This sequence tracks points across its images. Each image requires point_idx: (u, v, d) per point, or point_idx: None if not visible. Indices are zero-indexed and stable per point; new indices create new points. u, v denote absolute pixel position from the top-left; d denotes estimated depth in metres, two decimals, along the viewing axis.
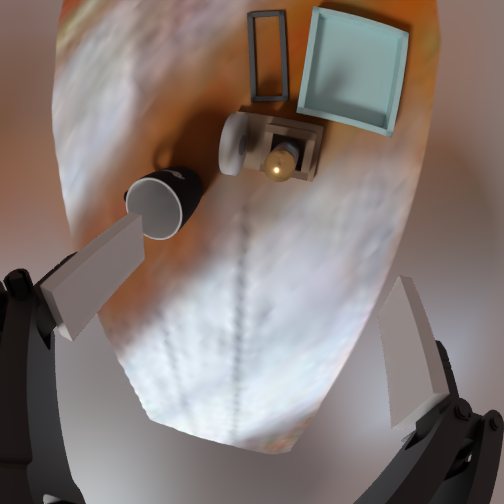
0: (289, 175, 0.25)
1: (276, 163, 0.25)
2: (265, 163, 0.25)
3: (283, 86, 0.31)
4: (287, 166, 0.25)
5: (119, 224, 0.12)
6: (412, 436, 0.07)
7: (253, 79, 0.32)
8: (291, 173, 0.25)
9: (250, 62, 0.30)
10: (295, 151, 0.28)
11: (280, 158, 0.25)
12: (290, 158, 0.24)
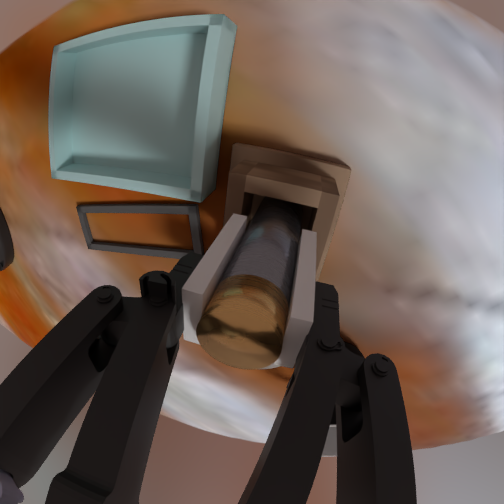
0: (261, 326, 0.08)
1: (229, 346, 0.09)
2: (232, 363, 0.10)
3: (173, 212, 0.22)
4: (234, 327, 0.09)
5: (232, 225, 0.13)
6: (290, 380, 0.09)
7: (169, 253, 0.24)
8: (254, 321, 0.08)
9: (146, 254, 0.24)
10: (244, 244, 0.12)
11: (214, 337, 0.09)
12: (209, 317, 0.09)
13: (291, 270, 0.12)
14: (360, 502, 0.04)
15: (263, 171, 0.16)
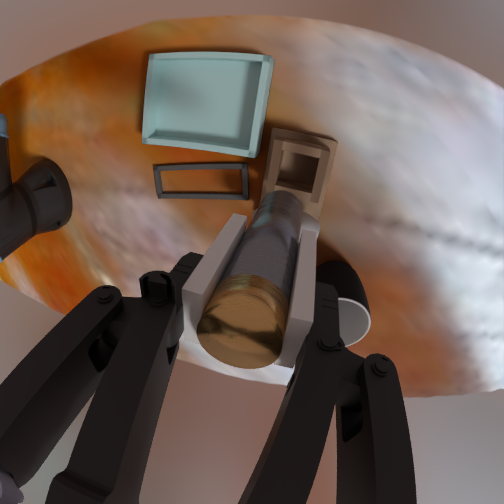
0: (261, 325, 0.08)
1: (229, 345, 0.09)
2: (232, 363, 0.10)
3: (231, 167, 0.35)
4: (234, 326, 0.09)
5: (232, 225, 0.13)
6: (290, 380, 0.09)
7: (224, 196, 0.37)
8: (254, 320, 0.08)
9: (207, 197, 0.38)
10: (244, 244, 0.12)
11: (214, 336, 0.09)
12: (210, 316, 0.09)
13: (291, 270, 0.12)
14: (360, 502, 0.04)
15: (290, 141, 0.29)
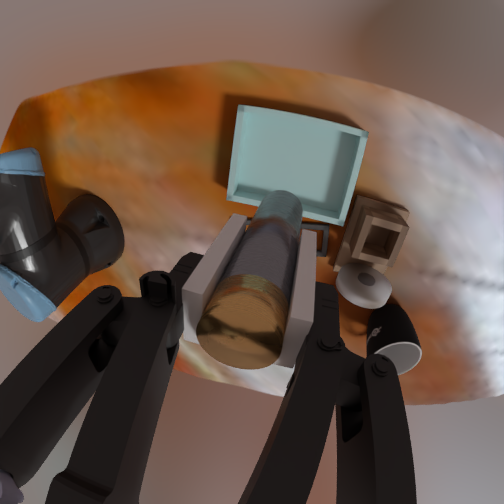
0: (261, 326, 0.08)
1: (229, 346, 0.09)
2: (232, 363, 0.10)
3: (314, 228, 0.38)
4: (234, 327, 0.09)
5: (232, 225, 0.13)
6: (290, 380, 0.09)
7: None
8: (254, 321, 0.08)
9: None
10: (244, 244, 0.12)
11: (214, 337, 0.09)
12: (209, 317, 0.09)
13: (291, 270, 0.12)
14: (360, 502, 0.04)
15: (376, 214, 0.32)
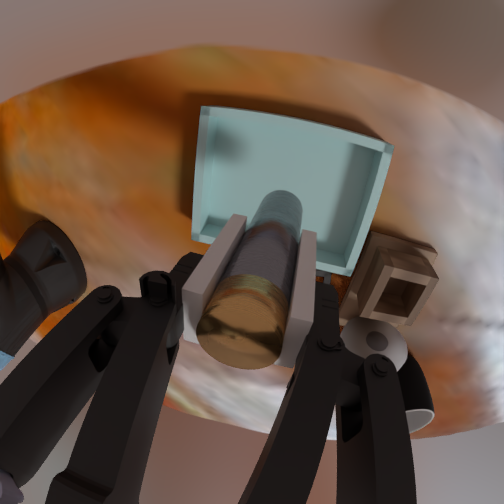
0: (261, 326, 0.08)
1: (229, 346, 0.09)
2: (232, 363, 0.10)
3: None
4: (234, 327, 0.09)
5: (232, 225, 0.13)
6: (290, 380, 0.09)
7: None
8: (254, 321, 0.08)
9: None
10: (244, 244, 0.12)
11: (214, 337, 0.09)
12: (209, 317, 0.09)
13: (291, 270, 0.12)
14: (360, 502, 0.04)
15: (397, 260, 0.23)
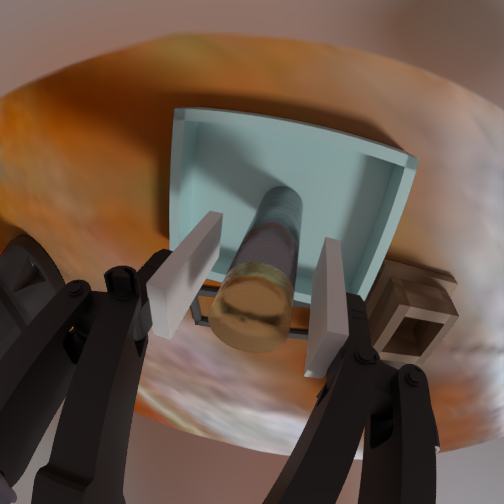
0: (271, 308, 0.09)
1: (239, 329, 0.10)
2: (242, 347, 0.10)
3: None
4: (245, 310, 0.09)
5: (206, 222, 0.13)
6: (322, 390, 0.09)
7: (296, 335, 0.26)
8: (264, 303, 0.09)
9: None
10: (250, 235, 0.13)
11: (225, 320, 0.10)
12: (222, 301, 0.09)
13: (295, 259, 0.12)
14: None
15: (413, 296, 0.18)
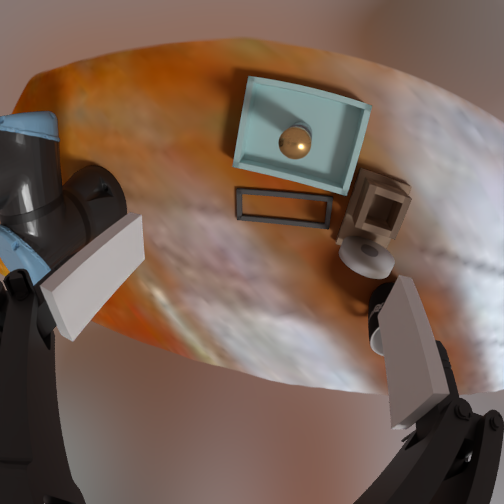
0: (304, 133, 0.23)
1: (291, 145, 0.24)
2: (291, 156, 0.24)
3: (318, 199, 0.38)
4: (294, 135, 0.23)
5: (119, 224, 0.12)
6: (412, 436, 0.07)
7: (307, 224, 0.40)
8: (302, 131, 0.23)
9: (290, 224, 0.41)
10: None
11: (285, 141, 0.23)
12: (285, 131, 0.23)
13: (310, 135, 0.26)
14: None
15: (379, 185, 0.32)
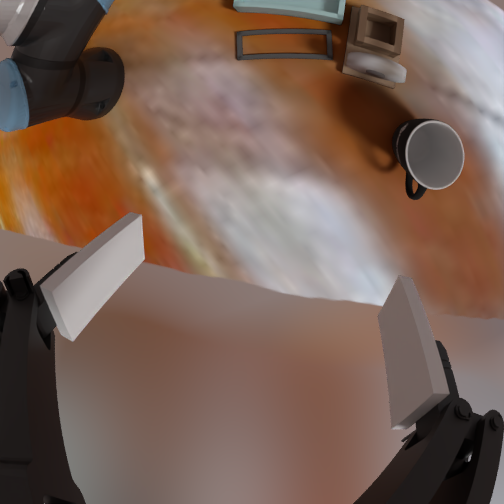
0: None
1: None
2: None
3: (317, 32, 0.29)
4: None
5: (119, 224, 0.12)
6: (412, 436, 0.07)
7: (310, 55, 0.31)
8: None
9: (292, 56, 0.32)
10: None
11: None
12: None
13: None
14: None
15: None
